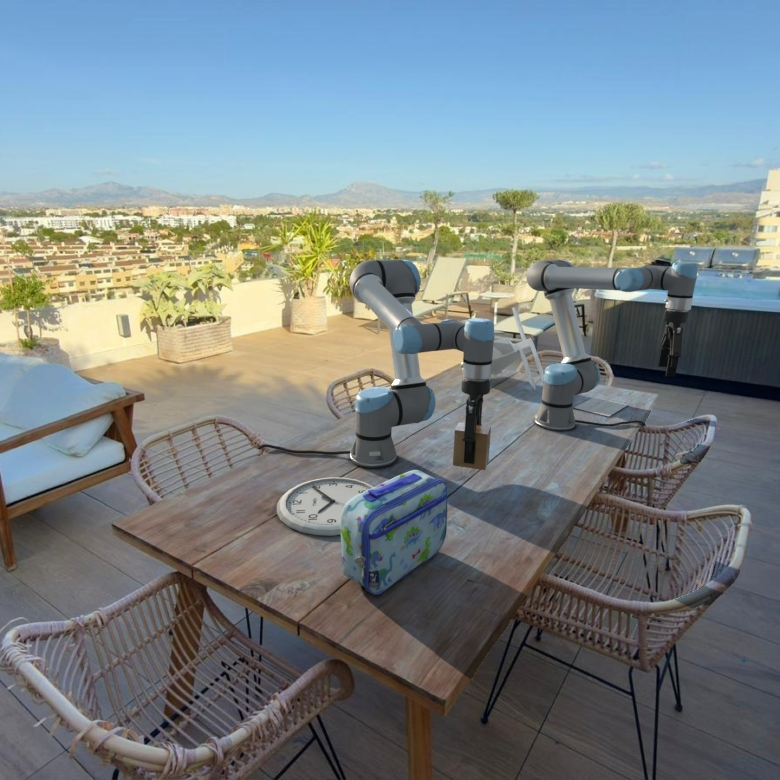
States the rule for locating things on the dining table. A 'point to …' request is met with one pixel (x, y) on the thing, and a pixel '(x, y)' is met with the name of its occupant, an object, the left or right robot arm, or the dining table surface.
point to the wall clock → (318, 504)
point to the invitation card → (601, 406)
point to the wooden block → (480, 447)
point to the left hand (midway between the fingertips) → (471, 457)
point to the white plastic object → (514, 353)
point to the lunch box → (393, 529)
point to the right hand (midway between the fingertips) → (666, 371)
